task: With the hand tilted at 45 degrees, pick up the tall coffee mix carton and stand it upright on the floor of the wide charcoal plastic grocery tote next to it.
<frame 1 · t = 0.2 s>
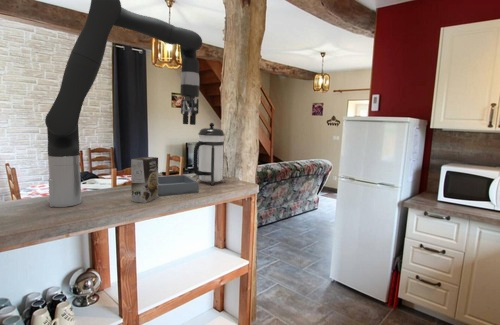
hand: (189, 124, 121), 29 cm above the table, tool pointing down, fingers open, 8 cm apart
tote: (173, 189, 130), on the table
coffee box: (145, 199, 112), on the table
coffee press: (209, 183, 146), on the table
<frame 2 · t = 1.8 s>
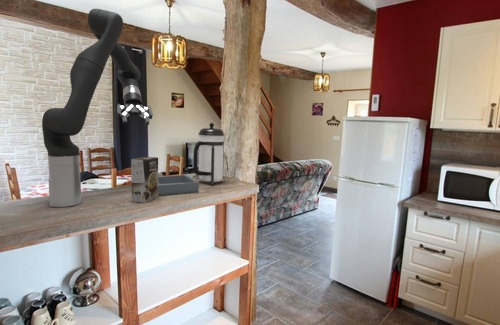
hand: (136, 124, 124), 28 cm above the table, tool tilted 45°, fingers open, 8 cm apart
nothing on the table moved.
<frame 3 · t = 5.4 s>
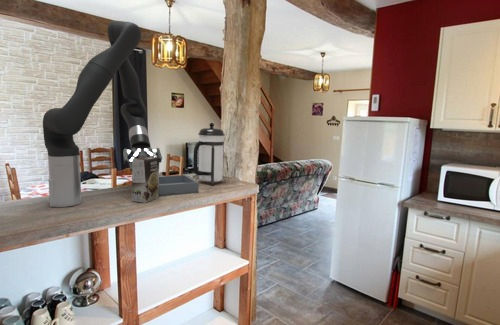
hand: (145, 170, 113), 11 cm above the table, tool tilted 45°, fingers open, 8 cm apart
coffee box: (145, 199, 112), on the table, touching gripper
everything else where it was.
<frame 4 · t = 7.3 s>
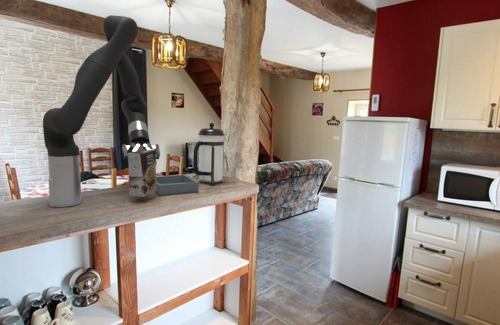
hand: (144, 166, 112), 12 cm above the table, tool tilted 45°, fingers closed on coffee box, 7 cm apart
coffee box: (143, 193, 112), point 3 cm above the table, touching gripper
everything else where it was.
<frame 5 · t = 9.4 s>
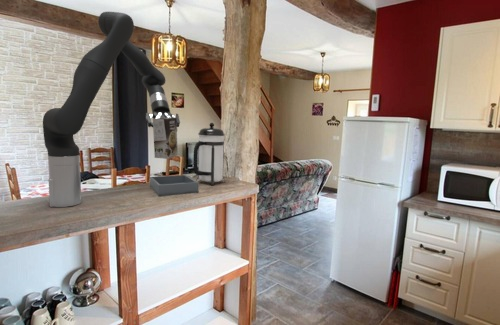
hand: (166, 133, 123), 25 cm above the table, tool tilted 45°, fingers closed on coffee box, 7 cm apart
coffee box: (166, 156, 123), point 15 cm above the table, touching gripper
everything else where it was.
when the fingers open (13 cm above the table, at t = 12.6 s): coffee box drops 2 cm, resting on tote.
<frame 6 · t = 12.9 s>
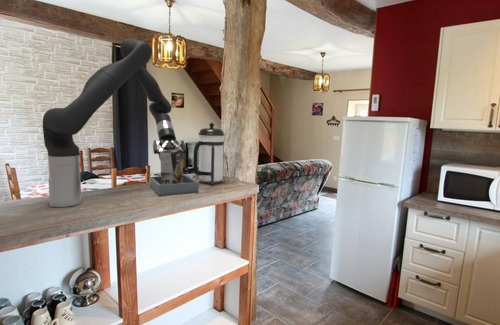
hand: (172, 159, 129), 13 cm above the table, tool tilted 45°, fingers open, 8 cm apart
coffee box: (172, 186, 130), point 1 cm above the table, touching gripper, tote
everything else where it was.
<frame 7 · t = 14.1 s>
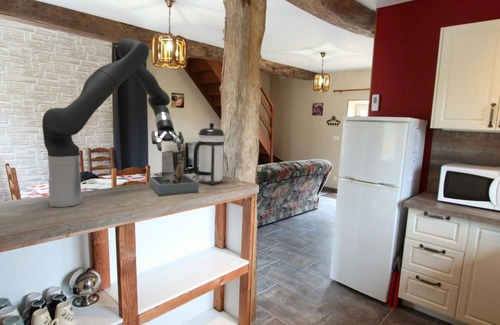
hand: (170, 150, 132), 17 cm above the table, tool tilted 45°, fingers open, 8 cm apart
coffee box: (172, 187, 130), point 1 cm above the table, touching tote
everything else where it was.
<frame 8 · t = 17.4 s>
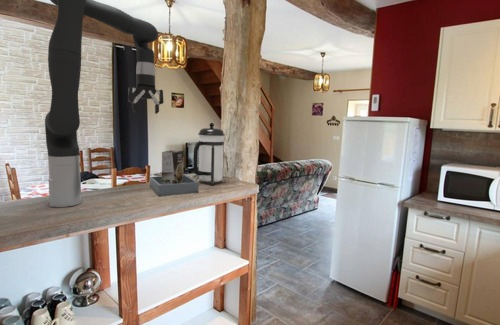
hand: (146, 113, 126), 33 cm above the table, tool pointing down, fingers open, 8 cm apart
nothing on the table moved.
at the end: coffee box inside the target area on the tote (0.5 cm from its centre), point 0.8 cm above the tote's base; coffee box tilted 0°; the gripper is holding nothing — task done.
